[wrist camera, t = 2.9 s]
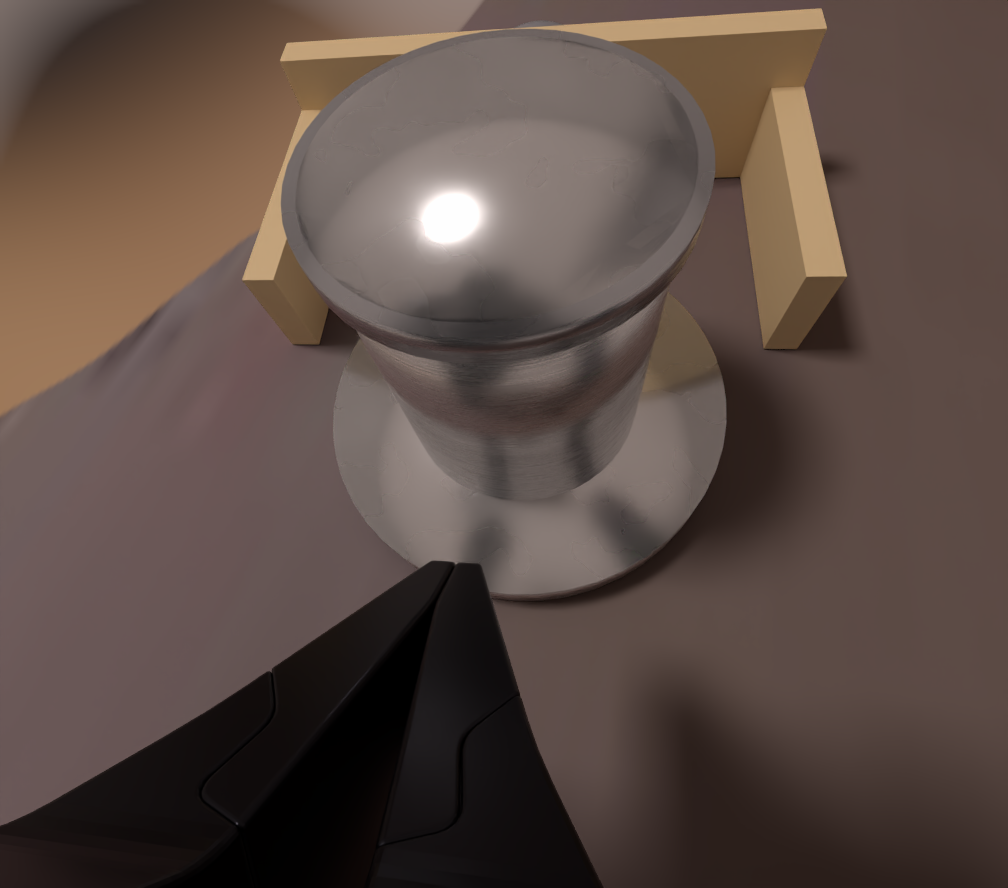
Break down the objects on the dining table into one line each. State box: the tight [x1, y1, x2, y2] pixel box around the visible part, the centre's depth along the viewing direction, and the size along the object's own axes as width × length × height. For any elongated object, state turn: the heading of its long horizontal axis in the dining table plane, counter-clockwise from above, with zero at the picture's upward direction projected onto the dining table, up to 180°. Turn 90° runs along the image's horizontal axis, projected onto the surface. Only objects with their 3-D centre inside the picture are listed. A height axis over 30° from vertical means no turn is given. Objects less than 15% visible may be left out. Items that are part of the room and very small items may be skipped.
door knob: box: [281, 29, 727, 601], centre depth 16 cm, size 14×14×11 cm
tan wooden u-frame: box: [242, 8, 847, 349], centre depth 21 cm, size 11×20×6 cm, turn 85°
